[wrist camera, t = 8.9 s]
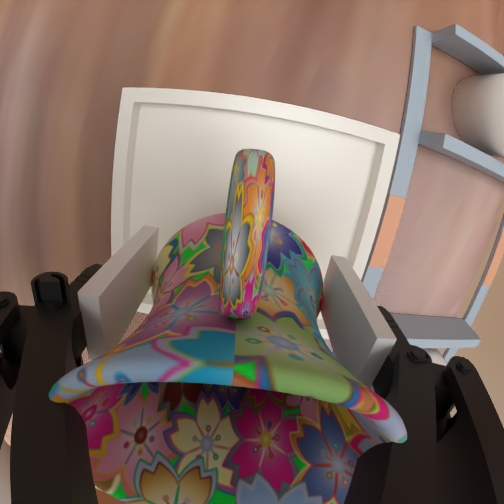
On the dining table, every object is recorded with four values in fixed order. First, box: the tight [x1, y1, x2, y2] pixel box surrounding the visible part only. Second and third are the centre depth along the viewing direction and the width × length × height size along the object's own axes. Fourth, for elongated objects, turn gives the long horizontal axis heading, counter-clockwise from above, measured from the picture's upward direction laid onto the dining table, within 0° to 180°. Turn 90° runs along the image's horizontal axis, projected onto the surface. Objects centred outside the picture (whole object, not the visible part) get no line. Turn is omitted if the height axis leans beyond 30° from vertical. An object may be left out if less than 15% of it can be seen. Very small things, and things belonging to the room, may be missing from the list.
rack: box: [333, 24, 504, 392], centre depth 21 cm, size 16×35×4 cm, turn 170°
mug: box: [49, 149, 407, 504], centre depth 10 cm, size 12×9×11 cm
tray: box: [111, 88, 400, 339], centre depth 21 cm, size 19×17×2 cm
